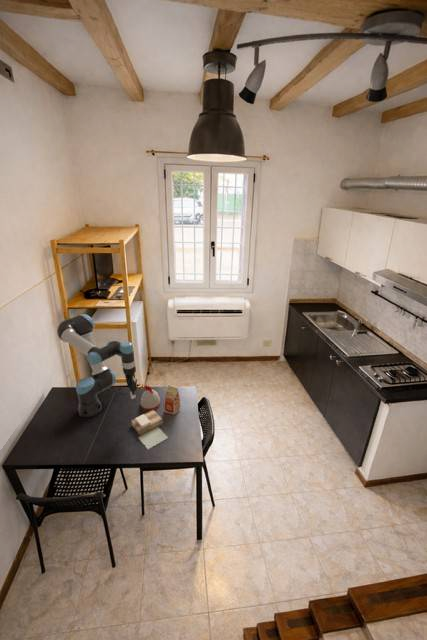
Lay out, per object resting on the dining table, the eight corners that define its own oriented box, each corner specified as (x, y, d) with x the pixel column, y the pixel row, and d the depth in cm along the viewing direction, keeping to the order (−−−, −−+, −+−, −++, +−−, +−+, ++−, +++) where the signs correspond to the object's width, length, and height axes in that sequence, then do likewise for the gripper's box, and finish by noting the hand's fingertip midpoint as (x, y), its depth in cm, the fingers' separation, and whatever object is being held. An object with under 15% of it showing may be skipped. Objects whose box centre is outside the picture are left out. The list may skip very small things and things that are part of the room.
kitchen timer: (151, 395, 229) (149, 378, 223) (164, 402, 222) (163, 384, 215) (136, 405, 219) (134, 387, 213) (150, 413, 211) (148, 395, 205)
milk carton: (163, 411, 213) (161, 387, 204) (170, 403, 220) (168, 379, 212) (175, 415, 209) (174, 390, 201) (182, 406, 217) (180, 382, 209)
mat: (138, 438, 191) (138, 437, 191) (158, 427, 199) (158, 426, 199) (147, 449, 182) (147, 449, 182) (168, 438, 191) (168, 437, 190)
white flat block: (135, 420, 199) (135, 418, 198) (143, 416, 202) (143, 414, 201) (142, 428, 192) (141, 426, 192) (150, 424, 196) (150, 421, 195)
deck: (131, 425, 201) (131, 420, 199) (153, 414, 210) (153, 409, 208) (140, 435, 192) (140, 430, 191) (163, 424, 202) (162, 419, 200)
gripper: (118, 364, 192) (123, 395, 202) (128, 373, 183) (132, 405, 193) (129, 360, 197) (134, 390, 206) (139, 368, 187) (143, 400, 197)
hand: (133, 397), depth 199 cm, fingers closed
